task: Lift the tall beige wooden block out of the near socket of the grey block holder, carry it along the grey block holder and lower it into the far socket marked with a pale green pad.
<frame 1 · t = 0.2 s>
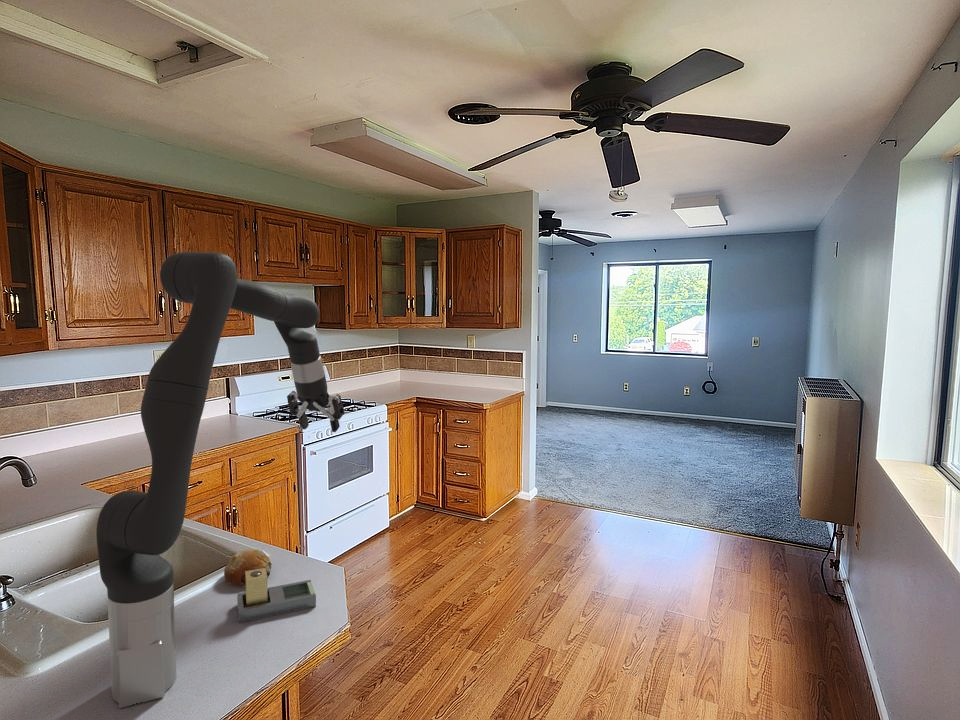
hand: (320, 429, 141), 31 cm above the counter, tool tilted 20°, fingers open, 8 cm apart
bread roll: (249, 577, 126), on the counter
tall beige wooden block: (256, 610, 113), resting in grey block holder
grey block holder: (276, 605, 115), on the counter
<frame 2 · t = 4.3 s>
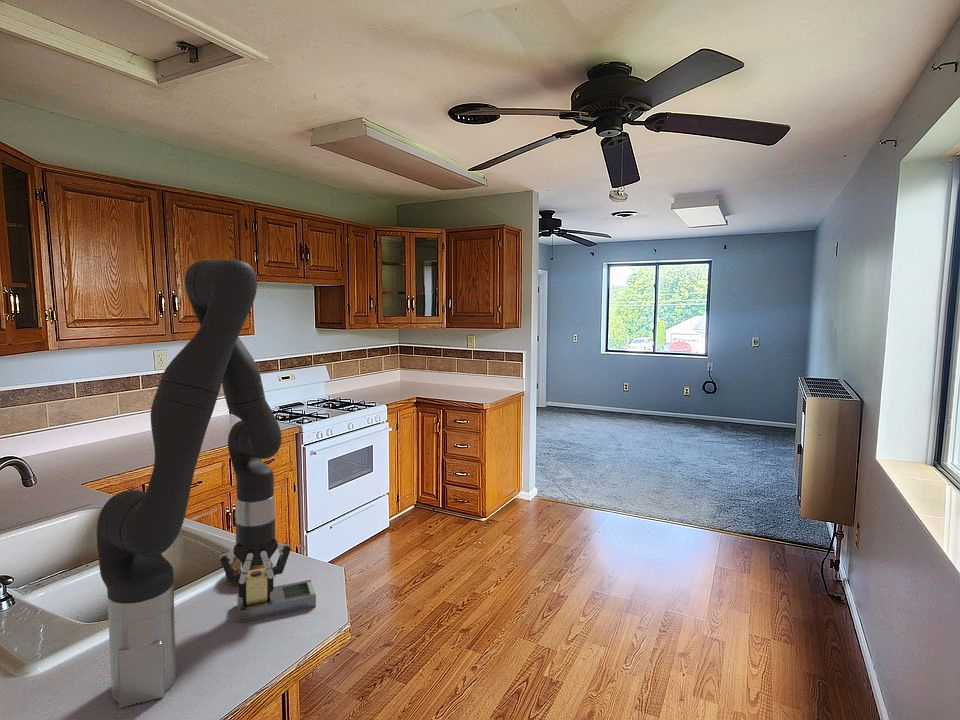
hand: (256, 595, 113), 3 cm above the counter, tool pointing down, fingers closed on tall beige wooden block, 4 cm apart
tall beige wooden block: (256, 610, 113), resting in grey block holder, touching gripper
everything else where it was.
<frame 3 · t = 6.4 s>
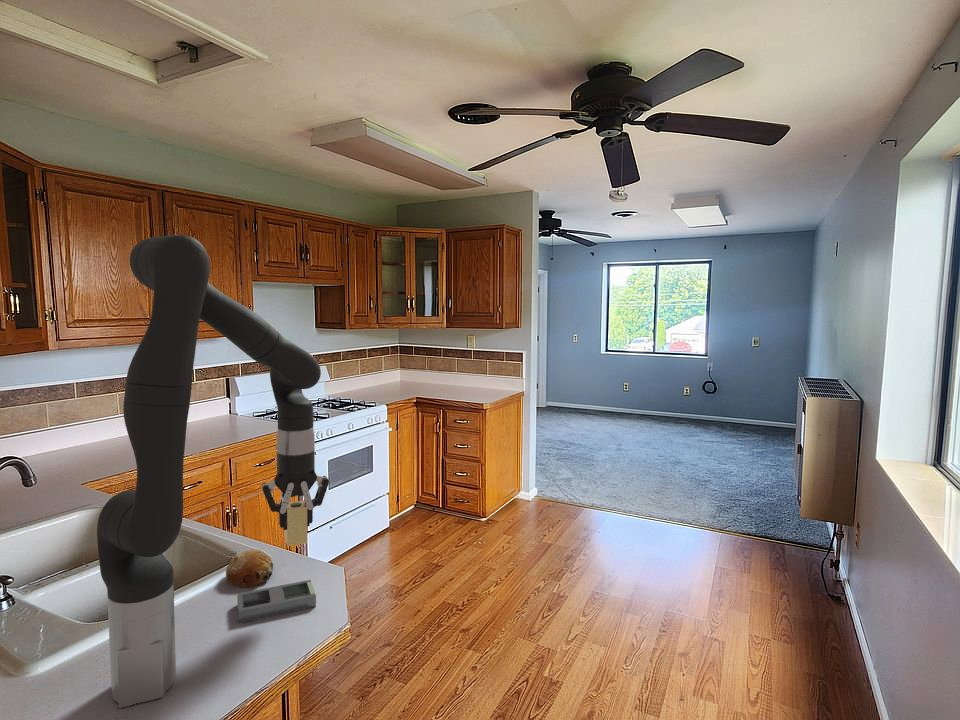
hand: (296, 526, 115), 17 cm above the counter, tool pointing down, fingers closed on tall beige wooden block, 4 cm apart
tall beige wooden block: (296, 540, 115), point 14 cm above the counter, touching gripper
everything else where it was.
when the fingers open (5 cm above the counter, at t = 8.7 s): tall beige wooden block drops 1 cm, resting on grey block holder.
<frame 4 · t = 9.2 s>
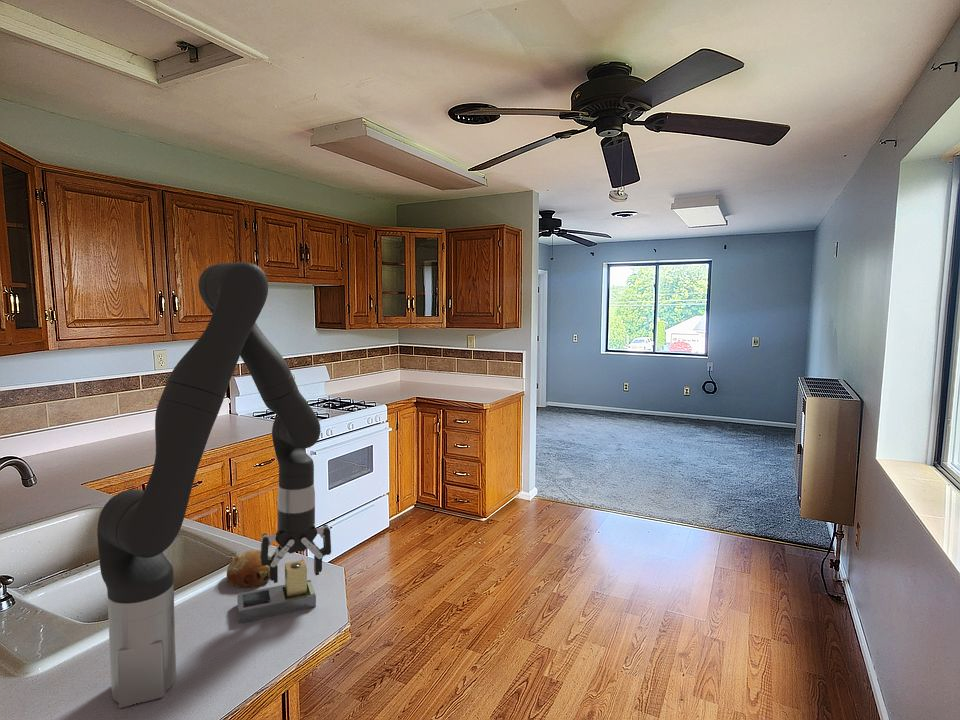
hand: (296, 577, 116), 6 cm above the counter, tool pointing down, fingers open, 8 cm apart
tall beige wooden block: (295, 600, 117), resting on grey block holder
everything else where it was.
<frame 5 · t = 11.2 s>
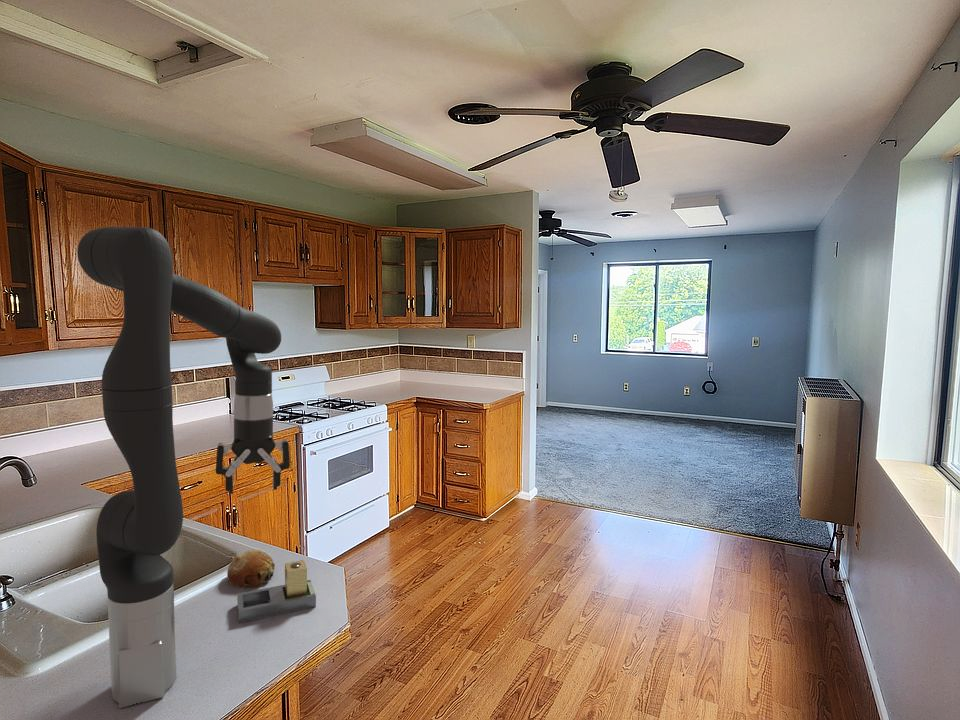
hand: (253, 490, 114), 25 cm above the counter, tool pointing down, fingers open, 8 cm apart
nothing on the counter moved.
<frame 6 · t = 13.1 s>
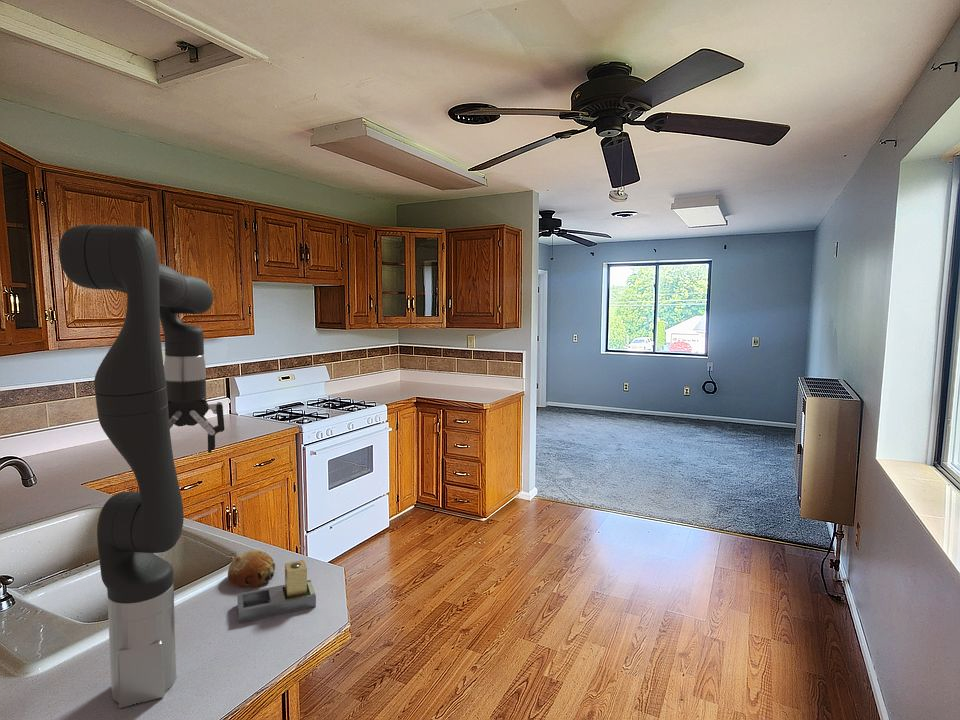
hand: (187, 453, 113), 32 cm above the counter, tool pointing down, fingers open, 8 cm apart
at the end: tall beige wooden block 0.1 cm from the target spot on the grey block holder, point 0.2 cm above the grey block holder's base; tall beige wooden block tilted 0°; the gripper is holding nothing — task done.
